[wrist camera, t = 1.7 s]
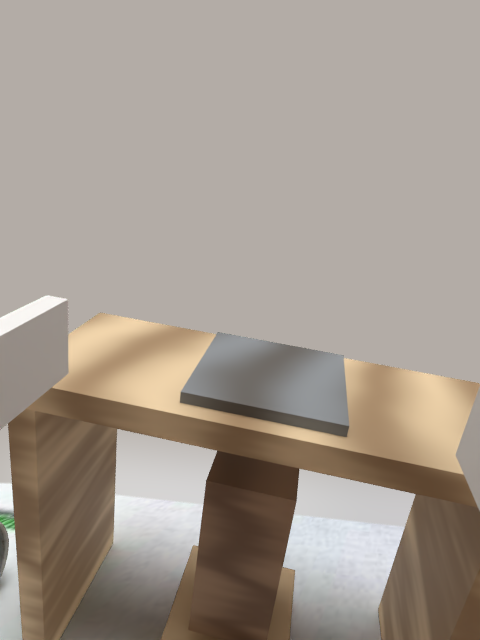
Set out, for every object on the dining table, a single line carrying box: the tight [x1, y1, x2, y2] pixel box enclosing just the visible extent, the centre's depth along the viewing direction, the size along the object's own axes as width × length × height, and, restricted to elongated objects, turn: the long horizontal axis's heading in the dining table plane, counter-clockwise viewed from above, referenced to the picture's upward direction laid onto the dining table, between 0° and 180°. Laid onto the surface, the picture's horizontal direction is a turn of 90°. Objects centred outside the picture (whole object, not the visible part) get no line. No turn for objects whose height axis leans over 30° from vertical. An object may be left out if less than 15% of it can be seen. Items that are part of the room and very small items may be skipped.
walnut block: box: [188, 451, 299, 640], centre depth 29 cm, size 5×5×12 cm
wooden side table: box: [8, 313, 480, 640], centre depth 29 cm, size 25×10×21 cm, turn 80°
